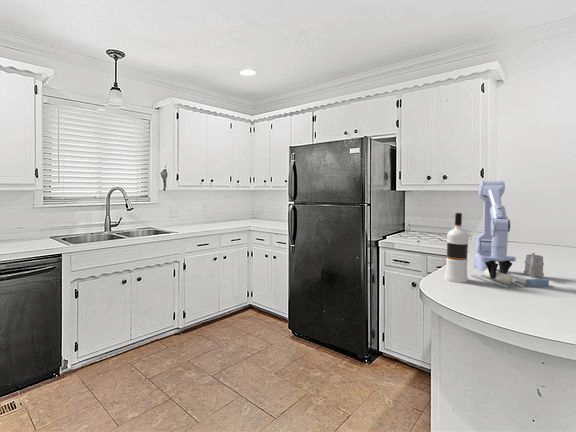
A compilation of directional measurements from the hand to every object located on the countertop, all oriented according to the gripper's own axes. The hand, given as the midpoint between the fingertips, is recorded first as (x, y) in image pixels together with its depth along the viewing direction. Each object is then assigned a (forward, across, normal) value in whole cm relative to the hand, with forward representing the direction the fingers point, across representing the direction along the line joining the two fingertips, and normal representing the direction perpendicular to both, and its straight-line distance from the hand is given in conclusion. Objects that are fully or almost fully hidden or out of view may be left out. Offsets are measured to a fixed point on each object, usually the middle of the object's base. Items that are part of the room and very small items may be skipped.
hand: (497, 278), depth 148 cm
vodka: (+2, -16, +4) cm, 17 cm away
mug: (+2, +24, +7) cm, 25 cm away
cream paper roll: (+1, 0, 0) cm, 1 cm away
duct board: (+2, +6, 0) cm, 6 cm away
